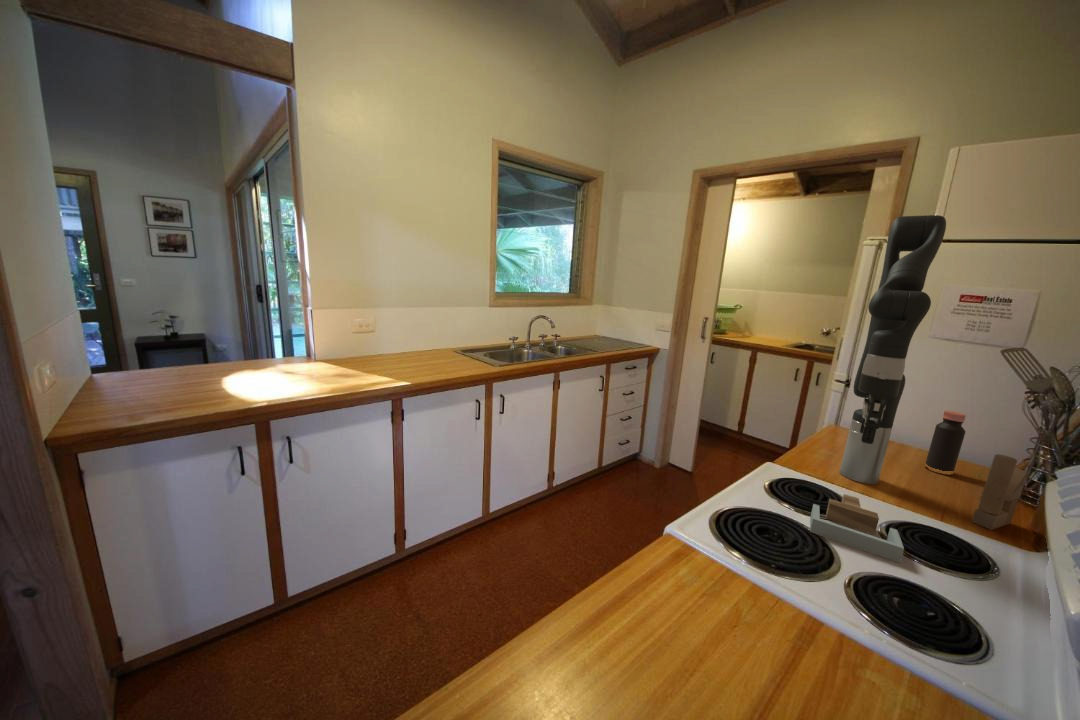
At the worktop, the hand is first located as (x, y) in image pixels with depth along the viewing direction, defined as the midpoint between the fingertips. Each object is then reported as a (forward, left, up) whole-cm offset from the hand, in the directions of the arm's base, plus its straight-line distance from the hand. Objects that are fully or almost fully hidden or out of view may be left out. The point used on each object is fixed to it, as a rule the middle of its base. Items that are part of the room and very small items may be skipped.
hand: (865, 438), depth 99 cm
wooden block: (-17, +29, -19) cm, 39 cm away
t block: (+8, -1, -18) cm, 20 cm away
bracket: (+17, -1, -18) cm, 25 cm away
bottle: (-54, +26, -19) cm, 63 cm away
